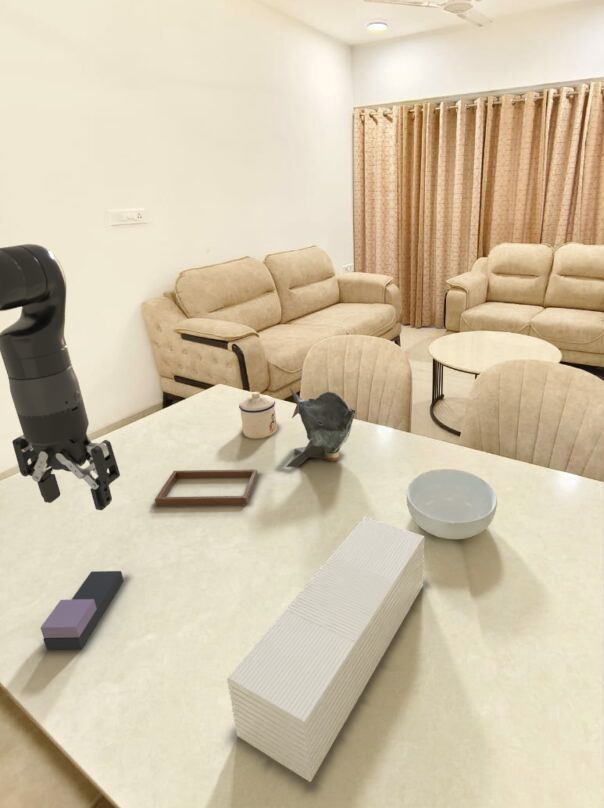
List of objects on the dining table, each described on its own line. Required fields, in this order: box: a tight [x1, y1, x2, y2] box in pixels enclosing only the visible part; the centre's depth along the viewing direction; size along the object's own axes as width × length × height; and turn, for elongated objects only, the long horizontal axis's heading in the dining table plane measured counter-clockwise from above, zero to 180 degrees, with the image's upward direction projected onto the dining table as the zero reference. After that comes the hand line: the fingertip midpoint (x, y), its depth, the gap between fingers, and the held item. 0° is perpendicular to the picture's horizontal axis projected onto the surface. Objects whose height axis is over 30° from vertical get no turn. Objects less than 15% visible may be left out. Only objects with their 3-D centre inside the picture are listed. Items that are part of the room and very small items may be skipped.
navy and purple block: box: [40, 570, 125, 651], centre depth 77 cm, size 5×13×5 cm, turn 0°
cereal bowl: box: [405, 468, 498, 540], centre depth 96 cm, size 17×17×7 cm
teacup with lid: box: [238, 391, 278, 439], centre depth 131 cm, size 12×9×12 cm
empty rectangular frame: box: [154, 469, 259, 507], centre depth 107 cm, size 19×11×2 cm, turn 90°
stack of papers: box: [226, 516, 425, 783], centre depth 69 cm, size 32×11×11 cm, turn 152°
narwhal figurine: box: [285, 386, 356, 469], centre depth 115 cm, size 14×15×18 cm
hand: (78, 503), depth 72 cm, fingers open, 8 cm apart
